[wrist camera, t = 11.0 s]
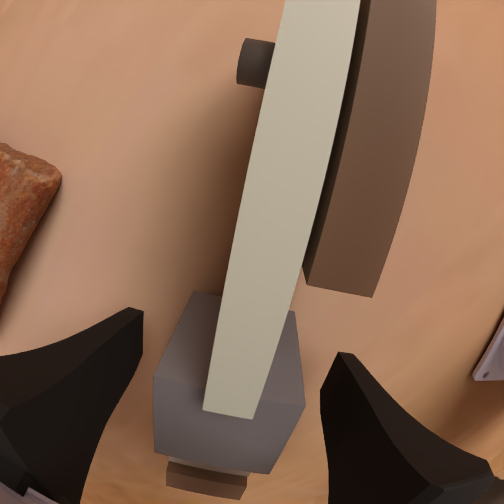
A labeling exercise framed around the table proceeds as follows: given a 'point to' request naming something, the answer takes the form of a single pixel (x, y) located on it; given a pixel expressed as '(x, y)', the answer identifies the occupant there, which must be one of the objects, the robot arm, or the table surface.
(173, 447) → the grey block
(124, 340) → the robot arm
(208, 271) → the table surface
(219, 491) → the door frame
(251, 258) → the cream bar
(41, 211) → the ceramic shard
